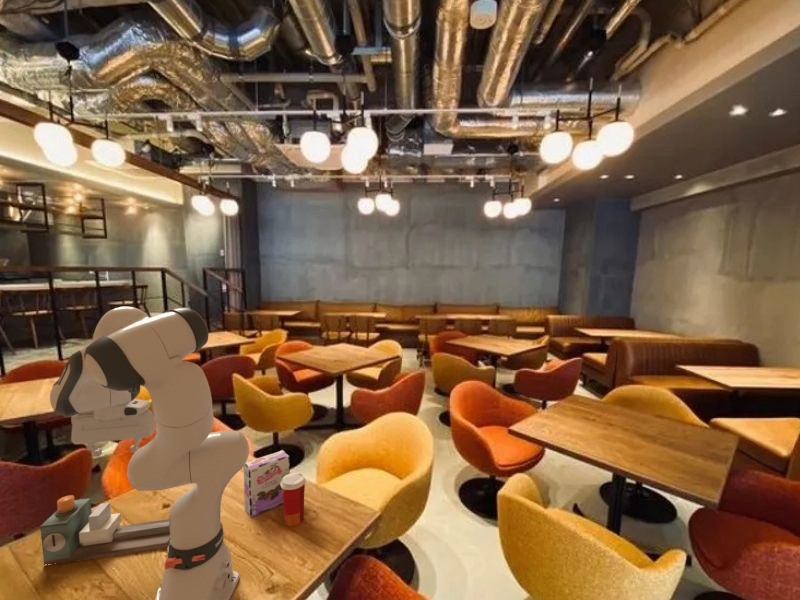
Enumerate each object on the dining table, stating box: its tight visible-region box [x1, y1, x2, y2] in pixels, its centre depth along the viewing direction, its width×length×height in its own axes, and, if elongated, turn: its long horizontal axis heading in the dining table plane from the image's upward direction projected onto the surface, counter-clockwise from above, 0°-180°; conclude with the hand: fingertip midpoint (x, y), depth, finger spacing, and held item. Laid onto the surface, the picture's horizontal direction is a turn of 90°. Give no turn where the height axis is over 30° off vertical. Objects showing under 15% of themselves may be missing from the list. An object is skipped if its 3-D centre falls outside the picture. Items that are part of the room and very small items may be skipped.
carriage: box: [79, 502, 122, 546], centre depth 108 cm, size 7×7×9 cm
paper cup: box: [280, 472, 307, 527], centre depth 117 cm, size 8×8×14 cm
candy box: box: [243, 449, 291, 518], centre depth 125 cm, size 14×6×16 cm, turn 129°
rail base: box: [39, 497, 170, 566], centre depth 108 cm, size 12×30×12 cm, turn 103°
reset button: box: [56, 494, 76, 513], centre depth 105 cm, size 4×4×3 cm
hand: (116, 453), depth 110 cm, fingers open, 8 cm apart
